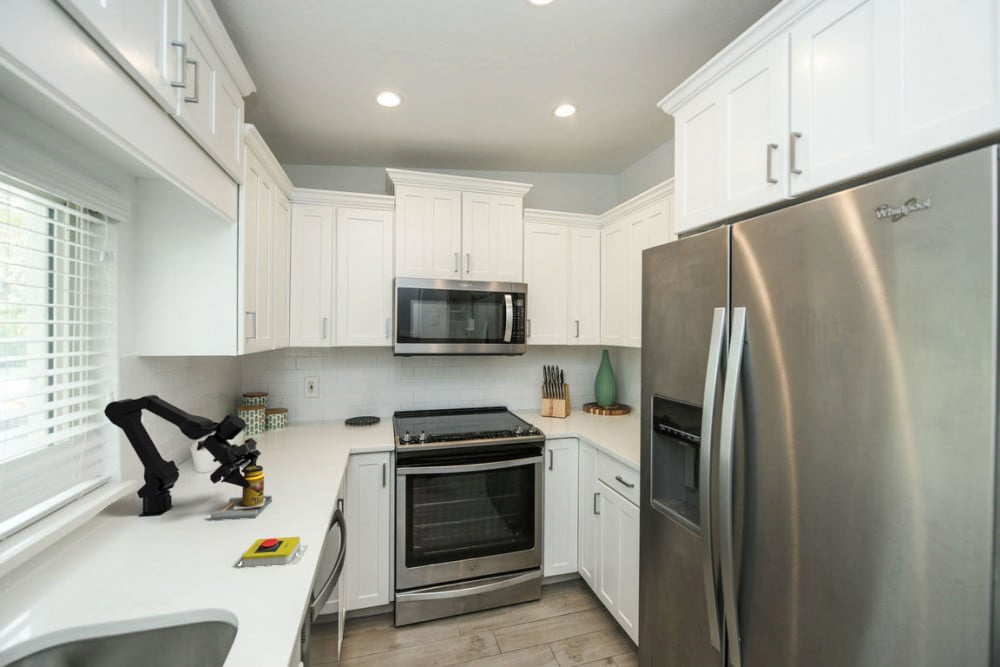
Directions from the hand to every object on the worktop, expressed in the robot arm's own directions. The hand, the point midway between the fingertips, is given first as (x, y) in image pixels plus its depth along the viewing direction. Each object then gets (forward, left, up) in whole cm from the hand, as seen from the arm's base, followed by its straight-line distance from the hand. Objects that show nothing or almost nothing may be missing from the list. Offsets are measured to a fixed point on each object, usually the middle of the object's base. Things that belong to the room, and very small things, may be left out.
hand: (254, 483), depth 136 cm
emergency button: (+17, -31, -9) cm, 37 cm away
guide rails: (-4, 0, -8) cm, 9 cm away
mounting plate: (-4, 0, -9) cm, 10 cm away
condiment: (-1, 0, -7) cm, 7 cm away
